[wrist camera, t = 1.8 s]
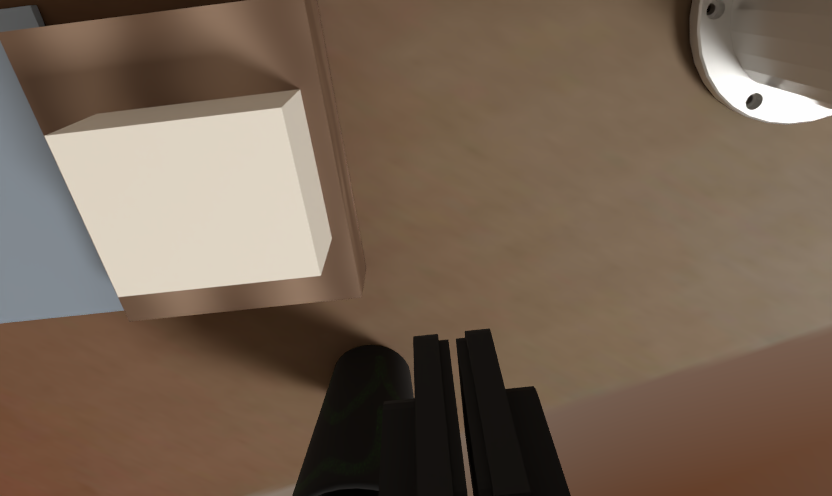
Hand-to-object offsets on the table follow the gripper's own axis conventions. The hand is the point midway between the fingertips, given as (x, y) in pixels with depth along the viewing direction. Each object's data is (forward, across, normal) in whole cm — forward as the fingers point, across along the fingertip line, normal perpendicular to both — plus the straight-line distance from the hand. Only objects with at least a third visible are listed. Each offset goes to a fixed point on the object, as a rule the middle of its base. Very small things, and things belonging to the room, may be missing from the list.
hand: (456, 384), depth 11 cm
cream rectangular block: (+17, +11, 0) cm, 20 cm away
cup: (+20, +6, +17) cm, 27 cm away
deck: (+20, +12, 0) cm, 23 cm away
